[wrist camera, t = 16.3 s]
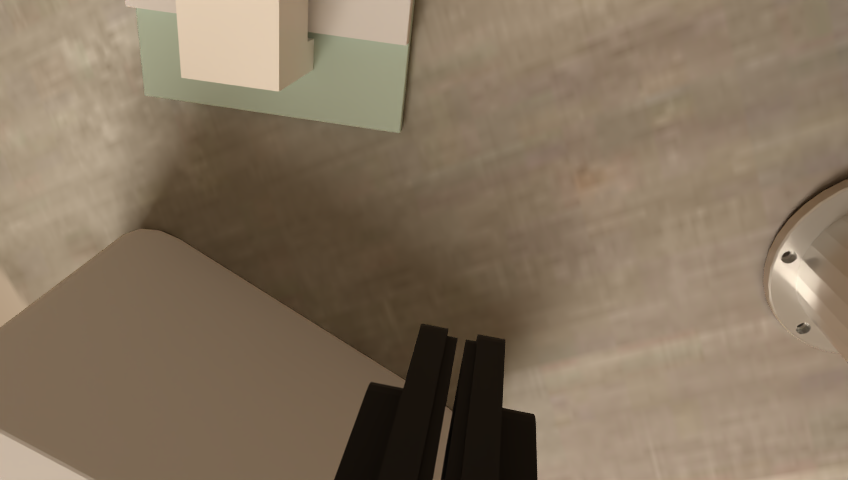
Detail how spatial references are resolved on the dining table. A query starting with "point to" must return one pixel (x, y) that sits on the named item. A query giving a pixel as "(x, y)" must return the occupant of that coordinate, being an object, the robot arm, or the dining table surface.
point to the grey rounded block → (175, 376)
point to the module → (245, 42)
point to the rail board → (317, 90)
